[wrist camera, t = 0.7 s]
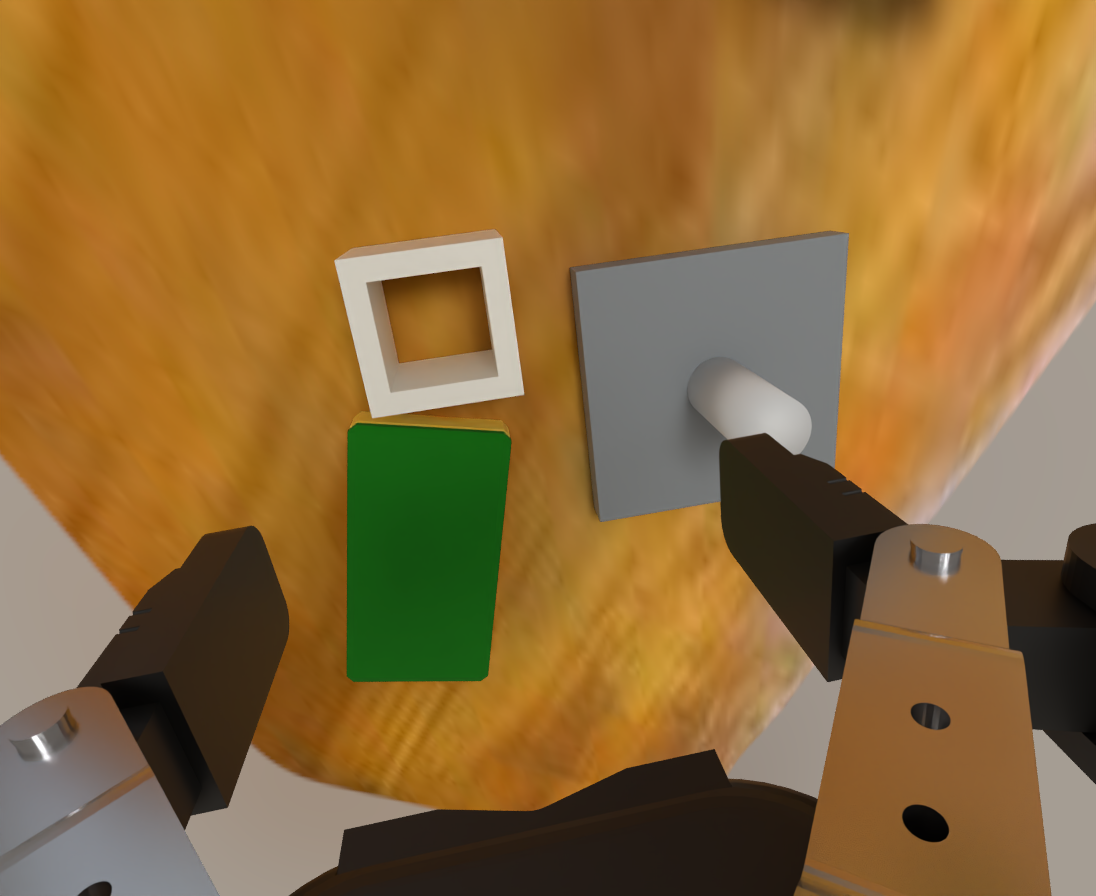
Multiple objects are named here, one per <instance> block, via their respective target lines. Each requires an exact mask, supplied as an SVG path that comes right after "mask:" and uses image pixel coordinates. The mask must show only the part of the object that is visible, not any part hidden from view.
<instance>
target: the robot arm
mask: <svg viewBox="0 0 1096 896" xmlns="http://www.w3.org/2000/svg"><path fill="white" fill-rule="evenodd" d="M719 471H720V500H721V522H722V529H723V533H724V537H725V540H726V543H727V546H728V548H729V550H730V552H731V553H732V555H733V556H734V558H735V559H736V560H737V562H738V563H739V564H740V566H741V567H742V568H743V570H744V571H745V572H746V574H747V575H748V576H749V578H750V579H751V580H752V582H753V583H754V584H755V586H756V587H757V588H758V590H759V591H760V592H761V594H762V595H763V596H764V598H765V599H766V600H767V602H768V603H769V605H770V606H771V607H772V609H773V610H774V611H775V613H776V614H777V615H778V617H779V618H780V619H781V621H782V622H783V623H784V625H785V626H786V627H787V629H788V630H789V631H790V633H791V634H792V635H793V637H794V638H795V639H796V641H797V642H798V643H799V645H800V646H801V647H802V649H803V650H804V651H805V653H806V654H807V655H808V657H809V658H810V659H811V661H812V662H813V663H814V665H815V666H816V668H817V669H818V670H819V671H820V673H821V674H822V676H823V677H824V678H825V679H826V681H827V682H831V681H835V680H839V679H842V683H841V688H840V693H839V697H838V703H837V707H836V712H835V717H834V722H833V727H832V732H831V737H830V742H829V747H828V752H827V756H826V761H825V767H824V771H823V776H822V781H821V786H820V791H819V796H818V799H816V798H814V797H812V796H809V795H807V794H804V793H801V792H798V791H795V790H792V789H789V788H786V787H782V786H777V785H773V784H769V783H765V782H757V781H750V780H742V779H728V778H727V775H726V773H725V771H724V769H723V767H722V765H721V762H720V760H719V758H718V756H717V754H716V752H715V749H713V750H708V751H704V752H699V753H695V754H690V755H686V756H681V757H676V758H672V759H667V760H663V761H658V762H653V763H649V764H644V765H640V766H635V767H630V768H626V769H624V770H622V771H620V772H618V773H616V774H614V775H611V776H609V777H607V778H605V779H603V780H601V781H599V782H597V783H595V784H593V785H591V786H588V787H586V788H584V789H582V790H580V791H578V792H576V793H574V794H572V795H570V796H568V797H565V798H563V799H561V800H559V801H557V802H555V803H553V804H551V805H549V806H547V807H544V808H542V809H539V810H534V811H487V810H433V811H429V812H424V813H420V814H416V815H410V816H406V817H402V818H397V819H392V820H388V821H383V822H379V823H374V824H369V825H365V826H360V827H355V828H351V829H346V830H344V835H343V840H342V846H341V852H340V859H339V865H338V866H337V867H335V868H333V869H331V870H329V871H327V872H325V873H323V874H321V875H320V876H318V877H316V878H315V879H313V880H311V881H310V882H308V883H306V884H305V885H303V886H302V887H300V888H299V889H297V890H296V891H295V892H293V893H292V894H291V895H289V896H1051V888H1050V879H1049V870H1048V863H1047V853H1046V844H1045V836H1044V827H1043V818H1042V810H1041V801H1040V793H1039V784H1038V775H1037V767H1036V758H1035V749H1034V741H1033V732H1032V729H1037V730H1043V731H1044V732H1045V733H1046V734H1047V735H1048V736H1049V737H1050V738H1051V739H1052V740H1053V741H1054V742H1055V743H1056V744H1057V745H1058V746H1059V747H1060V748H1061V749H1062V750H1063V752H1064V753H1066V755H1067V756H1068V757H1069V758H1070V759H1071V760H1072V761H1073V762H1074V763H1075V764H1076V765H1077V766H1078V767H1079V768H1080V769H1081V770H1082V771H1083V772H1084V773H1085V774H1086V775H1087V776H1088V777H1089V778H1090V779H1091V780H1092V781H1093V782H1094V783H1095V784H1096V524H1090V525H1086V526H1082V527H1080V528H1077V529H1076V530H1074V531H1073V532H1072V533H1071V534H1070V535H1069V538H1068V542H1067V547H1066V552H1065V557H1064V560H1001V559H1000V556H999V554H998V553H997V551H996V550H995V549H994V548H993V547H992V546H991V545H989V544H988V543H987V542H985V541H983V540H982V539H980V538H978V537H977V536H974V535H972V534H970V533H967V532H964V531H961V530H958V529H954V528H950V527H945V526H939V525H930V524H911V525H908V524H907V523H905V522H904V521H903V520H901V519H900V518H899V517H897V516H896V515H895V514H893V513H892V512H891V511H890V510H888V509H887V508H886V507H884V506H883V505H882V504H880V503H879V502H878V501H876V500H875V499H874V498H872V497H871V496H870V495H868V494H867V493H866V492H863V493H862V491H861V488H859V487H858V486H857V485H855V484H854V483H853V482H851V481H850V480H849V481H847V480H846V477H845V476H843V475H842V474H841V473H839V472H838V471H837V470H835V469H834V468H833V467H832V466H830V465H829V464H827V463H825V462H822V461H819V460H816V459H814V458H811V457H808V456H805V455H803V454H796V455H793V454H792V453H791V452H790V451H788V450H787V449H786V448H785V447H783V446H782V445H781V444H780V443H779V442H777V441H776V440H775V439H774V438H772V437H771V436H770V435H768V434H767V433H761V434H755V435H750V436H744V437H739V438H733V439H728V440H723V441H722V443H721V445H720V449H719ZM119 631H120V634H117V635H115V636H114V638H113V639H112V640H111V642H110V643H109V645H108V646H107V647H106V648H105V650H104V651H103V653H102V654H101V655H100V657H99V658H98V659H97V661H96V662H95V664H94V665H93V666H92V668H91V669H90V670H89V672H88V673H87V674H86V676H85V677H84V678H83V680H82V681H81V682H80V684H79V685H78V687H77V688H75V689H71V690H67V691H64V692H61V693H57V694H55V695H52V696H50V697H47V698H45V699H43V700H41V701H39V702H36V703H35V704H33V705H31V706H29V707H27V708H25V709H24V710H22V711H21V712H19V713H17V714H16V715H14V716H13V717H11V718H10V719H9V720H7V721H6V722H4V723H3V724H2V725H0V896H220V895H219V894H218V892H217V890H216V888H215V886H214V885H213V883H212V881H211V879H210V877H209V875H208V873H207V872H206V870H205V868H204V866H203V864H202V862H201V860H200V858H199V856H198V855H197V853H196V851H195V849H194V847H193V845H192V844H191V842H190V840H189V838H188V836H187V834H186V832H185V829H186V826H187V824H188V821H189V819H190V816H191V815H196V814H200V813H205V812H210V811H214V810H219V809H224V808H227V807H228V806H229V803H230V800H231V797H232V794H233V791H234V789H235V786H236V783H237V780H238V777H239V775H240V772H241V769H242V766H243V763H244V761H245V758H246V755H247V752H248V749H249V746H250V744H251V741H252V738H253V735H254V732H255V730H256V727H257V724H258V721H259V718H260V716H261V713H262V710H263V707H264V704H265V701H266V699H267V696H268V693H269V690H270V687H271V685H272V682H273V679H274V676H275V673H276V671H277V668H278V665H279V662H280V659H281V656H282V654H283V651H284V648H285V645H286V642H287V639H288V634H289V615H288V609H287V604H286V601H285V598H284V595H283V593H282V590H281V587H280V584H279V581H278V579H277V576H276V573H275V570H274V568H273V565H272V562H271V559H270V556H269V554H268V551H267V548H266V545H265V543H264V540H263V537H262V535H261V533H260V532H259V530H258V529H257V528H256V527H254V526H247V527H242V528H237V529H231V530H226V531H220V532H215V533H209V534H205V535H204V536H203V537H202V538H201V539H200V541H199V542H198V543H197V545H196V546H195V548H194V549H193V551H192V552H191V554H190V555H189V556H188V558H187V559H186V561H185V562H184V564H183V565H182V566H181V568H178V569H175V570H173V571H172V572H171V573H170V574H168V575H167V576H166V577H165V578H163V579H162V580H161V581H159V582H158V583H157V584H156V585H154V586H153V587H152V588H150V589H149V590H148V591H147V593H146V594H145V595H144V597H143V598H142V600H141V601H140V602H139V604H138V605H137V606H136V608H135V609H134V610H133V616H129V617H128V619H127V620H126V621H125V623H124V624H123V625H122V627H121V628H120V629H119Z"/></svg>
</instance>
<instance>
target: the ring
mask: <svg viewBox="0 0 1096 896" xmlns="http://www.w3.org/2000/svg"><path fill="white" fill-rule="evenodd" d="M334 261H335V265H336V269H337V273H338V278H339V282H340V286H341V290H342V294H343V298H344V303H345V307H346V311H347V315H348V319H349V324H350V328H351V332H352V336H353V340H354V345H355V349H356V353H357V357H358V361H359V365H360V370H361V374H362V378H363V382H364V386H365V391H366V395H367V399H368V403H369V407H370V411H371V416H372V418H378V417H384V416H391V415H397V414H404V413H410V412H416V411H423V410H429V409H436V408H442V407H449V406H455V405H461V404H468V403H474V402H481V401H487V400H494V399H500V398H506V397H513V396H519V395H524V389H523V381H522V374H521V367H520V360H519V353H518V345H517V338H516V331H515V324H514V317H513V309H512V302H511V295H510V288H509V281H508V273H507V266H506V259H505V252H504V245H503V237H502V236H501V235H500V234H499V233H498V232H497V231H496V229H491V230H484V231H476V232H469V233H461V234H454V235H446V236H439V237H432V238H424V239H417V240H409V241H402V242H395V243H387V244H380V245H372V246H365V247H357V248H351V249H350V250H349V251H347V252H346V253H344V254H343V255H341V256H340V257H338V258H337V259H336V260H334ZM474 267H479V268H480V274H481V281H482V287H483V294H484V300H485V306H486V313H487V319H488V326H489V332H490V339H491V345H492V350H486V351H479V352H472V353H465V354H459V355H452V356H445V357H439V358H432V359H425V360H419V361H412V362H405V363H399V361H398V357H397V352H396V347H395V343H394V338H393V333H392V329H391V324H390V319H389V315H388V310H387V305H386V301H385V296H384V291H383V287H382V282H381V280H388V279H395V278H402V277H409V276H416V275H423V274H431V273H438V272H445V271H452V270H459V269H467V268H474Z"/></svg>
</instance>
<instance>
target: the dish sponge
mask: <svg viewBox="0 0 1096 896" xmlns="http://www.w3.org/2000/svg"><path fill="white" fill-rule="evenodd" d="M510 451H511V438H510V433H509V429H508V427H507V425H506V424H505V423H504V422H503V421H502V420H492V419H476V418H460V417H444V416H428V415H413V414H397V415H391V416H384V417H378V418H372V416H371V412H365V411H361V412H360V413H359V414H357V415H356V416H355V417H354V418H353V420H352V423H351V425H350V429H349V430H348V468H347V677H348V678H350V679H351V680H352V681H353V682H394V681H482V680H483V679H484V678H486V677H487V676H488V670H489V660H490V650H491V640H492V630H493V620H494V610H495V600H496V590H497V580H498V571H499V561H500V551H501V541H502V531H503V521H504V511H505V501H506V491H507V481H508V471H509V461H510Z"/></svg>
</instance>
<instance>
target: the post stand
mask: <svg viewBox="0 0 1096 896" xmlns="http://www.w3.org/2000/svg"><path fill="white" fill-rule="evenodd" d="M848 238H849V233H843V232H836V231H825V232H818V233H811V234H804V235H797V236H790V237H783V238H776V239H769V240H761V241H754V242H747V243H740V244H733V245H726V246H719V247H712V248H705V249H698V250H690V251H683V252H676V253H669V254H662V255H655V256H648V257H641V258H634V259H627V260H620V261H612V262H605V263H598V264H591V265H584V266H577V267H570V274H571V284H572V294H573V304H574V313H575V323H576V333H577V343H578V353H579V363H580V372H581V382H582V392H583V402H584V412H585V422H586V431H587V441H588V451H589V461H590V471H591V481H592V490H593V500H594V508H595V511H596V513H597V515H598V518H599V520H600V522H604V521H609V520H615V519H621V518H627V517H633V516H638V515H644V514H650V513H656V512H661V511H667V510H673V509H679V508H685V507H690V506H696V505H702V504H708V503H714V502H719V501H721V500H720V471H719V449H720V445H721V443H722V441H723V440H728V439H733V438H739V437H744V436H750V435H755V434H761V433H767V434H768V435H770V436H771V437H772V438H774V439H775V440H776V441H777V442H779V443H780V444H781V445H782V446H783V447H785V448H786V449H787V450H788V451H790V452H791V453H792V454H793V455H796V454H803V455H805V456H808V457H811V458H814V459H816V460H819V461H822V462H825V463H827V464H829V465H830V466H832V467H833V468H835V452H836V435H837V419H838V403H839V386H840V370H841V353H842V337H843V321H844V304H845V288H846V271H847V255H848Z"/></svg>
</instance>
